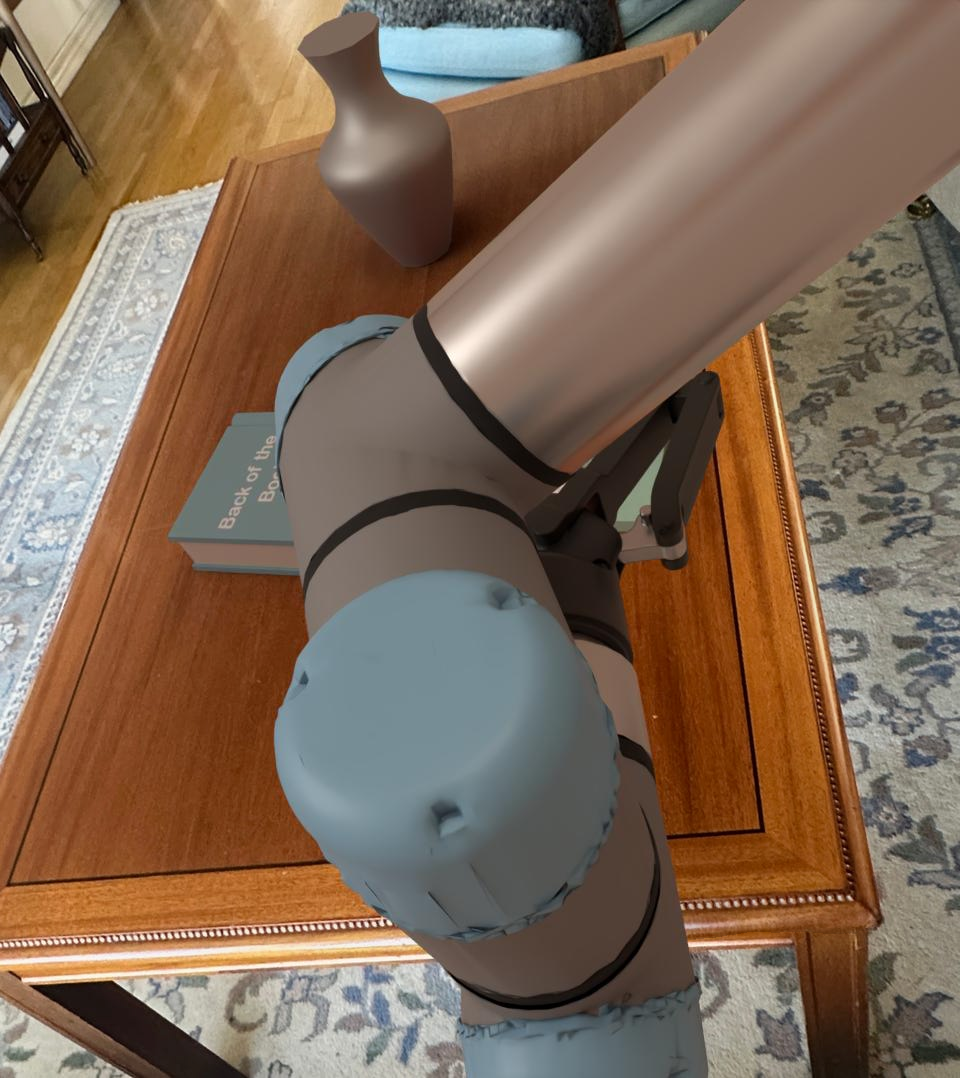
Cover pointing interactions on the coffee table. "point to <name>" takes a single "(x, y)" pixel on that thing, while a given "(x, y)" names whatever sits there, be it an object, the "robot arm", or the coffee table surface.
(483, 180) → the coffee table surface
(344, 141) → the vase
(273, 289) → the coffee table surface
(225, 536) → the book
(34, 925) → the coffee table surface
